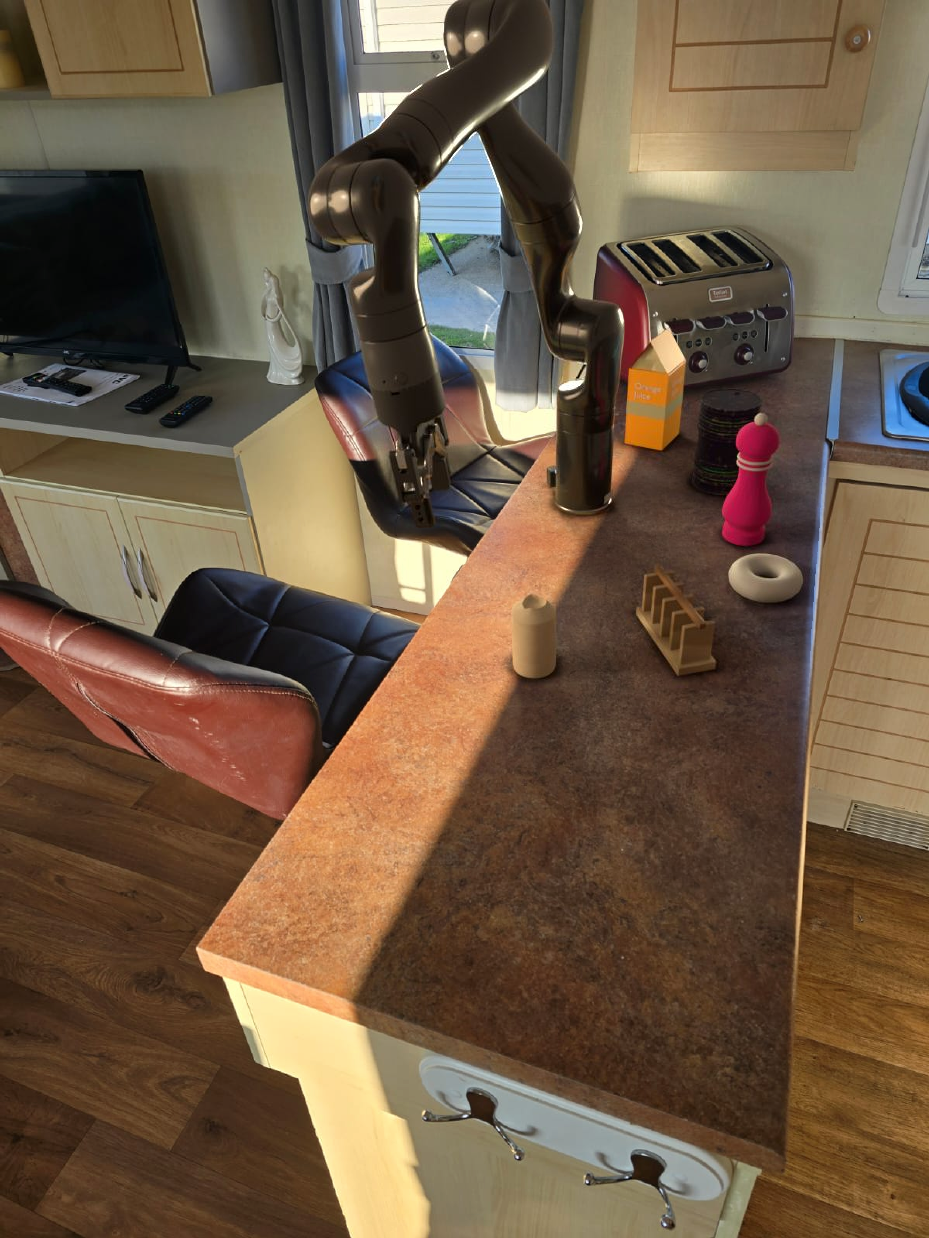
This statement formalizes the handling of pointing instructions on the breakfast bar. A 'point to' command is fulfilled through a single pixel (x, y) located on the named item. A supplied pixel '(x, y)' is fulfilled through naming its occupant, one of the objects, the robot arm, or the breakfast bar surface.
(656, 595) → the toast rack
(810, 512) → the breakfast bar surface
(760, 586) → the donut
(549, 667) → the candle
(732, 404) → the storage jar
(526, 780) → the breakfast bar surface
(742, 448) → the pepper mill
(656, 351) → the orange juice
